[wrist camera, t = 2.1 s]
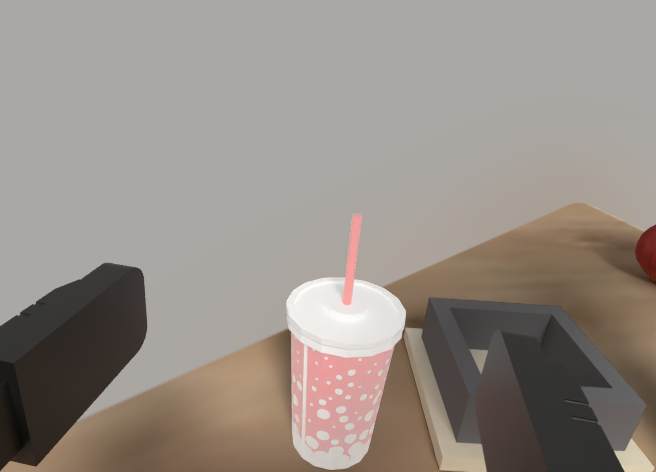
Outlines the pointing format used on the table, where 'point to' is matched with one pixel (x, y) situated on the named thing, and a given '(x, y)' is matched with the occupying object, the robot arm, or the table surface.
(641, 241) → the onion
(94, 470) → the table surface
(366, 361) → the beverage cup
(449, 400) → the grey tray on board
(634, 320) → the table surface
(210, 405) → the table surface
